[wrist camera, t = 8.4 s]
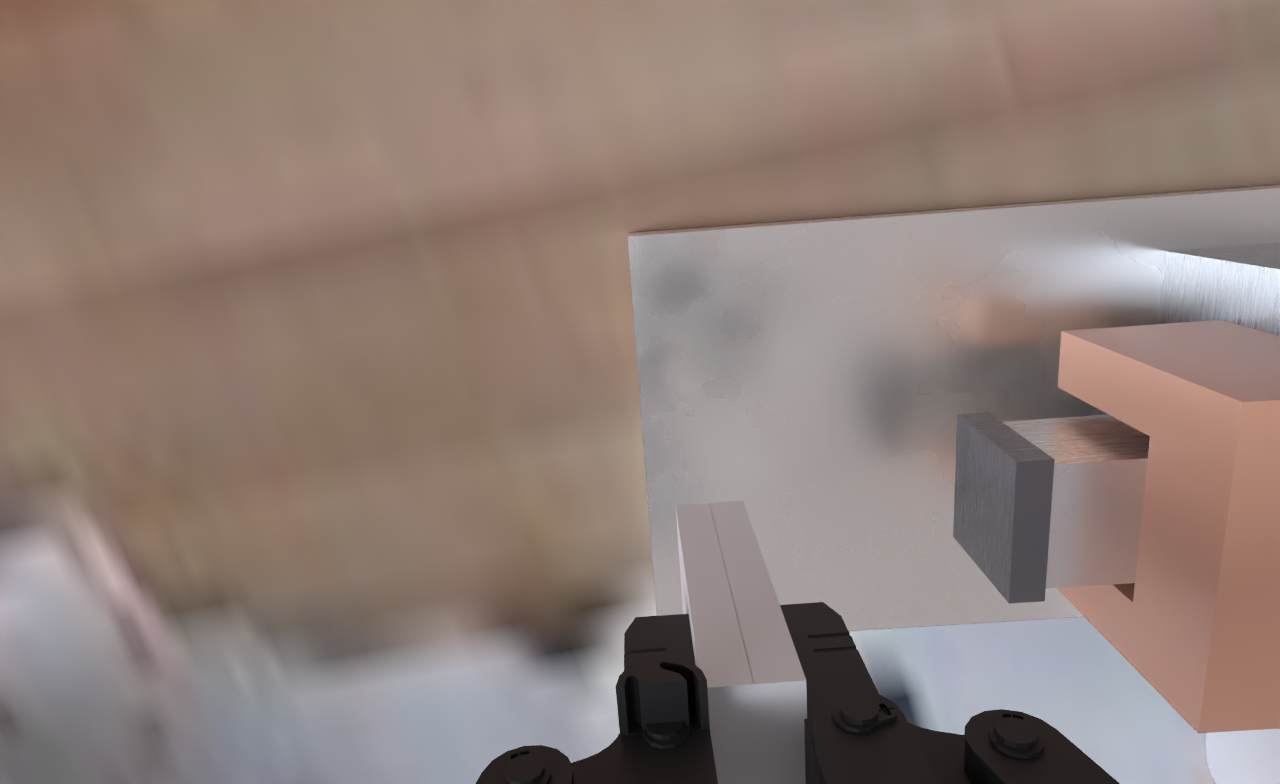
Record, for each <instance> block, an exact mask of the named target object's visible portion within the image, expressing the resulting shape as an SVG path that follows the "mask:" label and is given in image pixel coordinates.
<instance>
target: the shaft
mask: <svg viewBox="0 0 1280 784" xmlns="http://www.w3.org/2000/svg"><path fill="white" fill-rule="evenodd" d="M1149 441H1150V436H1148V435H1146V434H1144V433H1143V432H1141V431H1139V430H1137V429H1135V428H1133V427H1131V426H1129V425H1128V424H1126V423H1124V422H1122V421H1120V420H1118V419H1116V418H1114V417H1113V416H1111V415H1094V416H1080V417H1065V418H1050V419H1035V420H1020V421H1005V422H1002V421H1000V420H999V419H997V418H996V417H995V416H993V415H992V414H990V413H975V414H960V415H957V436H956V465H955V495H954V524H953V537H954V538H955V540H956V541H957V542H958V543H959V544H960V546H961V547H962V548H963V549H964V550H965V552H966V553H967V554H968V555H969V556H970V558H971V559H972V560H973V561H974V562H975V564H976V565H977V566H978V567H979V568H980V570H981V571H982V572H983V573H984V574H985V576H986V577H987V578H988V579H989V580H990V582H991V583H992V584H993V585H994V586H995V588H996V589H997V590H998V591H999V592H1000V594H1001V595H1002V596H1003V597H1004V598H1005V600H1006V601H1007V602H1008V603H1026V602H1042V601H1045V591H1046V589H1047V588H1063V587H1079V586H1095V585H1111V584H1128V583H1135V577H1136V567H1137V558H1138V548H1139V538H1140V528H1141V519H1142V509H1143V499H1144V489H1145V480H1146V470H1147V460H1148V450H1149Z"/></svg>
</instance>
